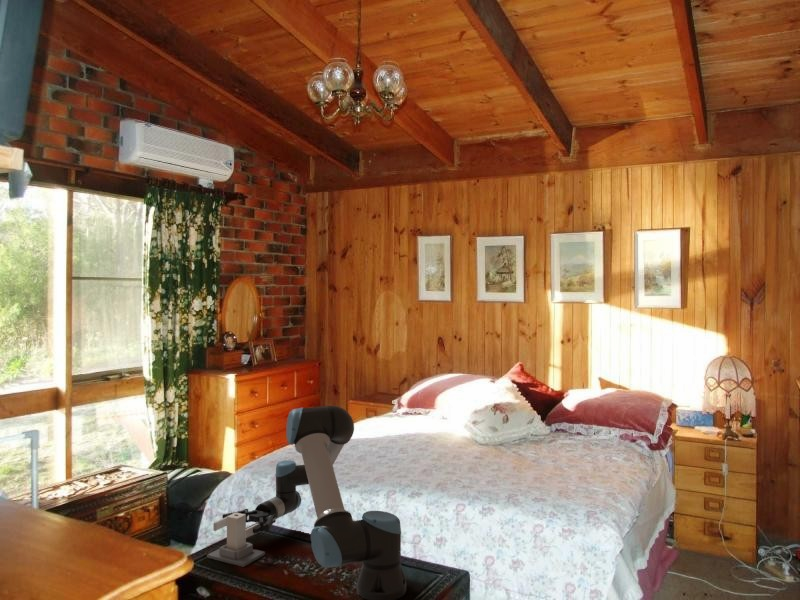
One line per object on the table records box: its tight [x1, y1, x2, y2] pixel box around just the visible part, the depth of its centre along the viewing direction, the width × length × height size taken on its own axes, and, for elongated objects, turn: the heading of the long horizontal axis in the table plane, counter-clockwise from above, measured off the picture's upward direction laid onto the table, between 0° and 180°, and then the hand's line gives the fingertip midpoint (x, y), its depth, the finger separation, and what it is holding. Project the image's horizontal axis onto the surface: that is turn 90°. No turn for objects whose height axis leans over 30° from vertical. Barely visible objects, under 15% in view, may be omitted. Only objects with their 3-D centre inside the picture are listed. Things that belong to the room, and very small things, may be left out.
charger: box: [226, 511, 247, 551], centre depth 218 cm, size 4×4×13 cm
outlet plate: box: [206, 541, 266, 568], centre depth 218 cm, size 16×11×4 cm
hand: (229, 530), depth 215 cm, fingers open, 13 cm apart
